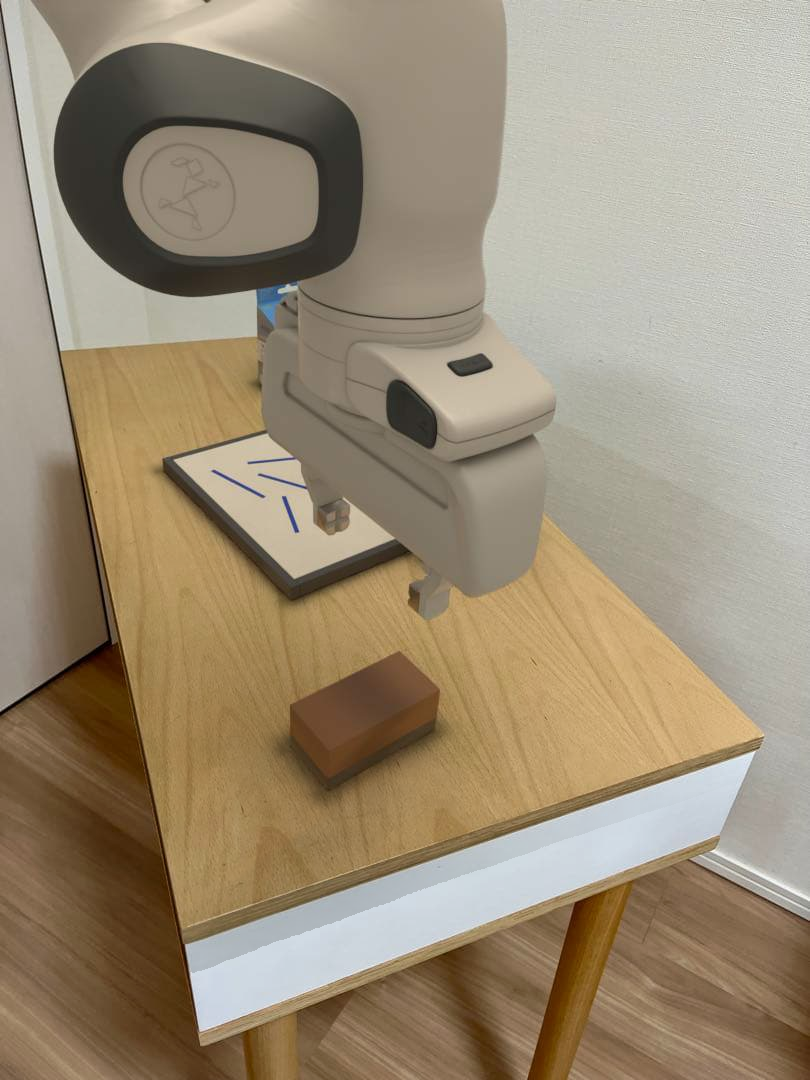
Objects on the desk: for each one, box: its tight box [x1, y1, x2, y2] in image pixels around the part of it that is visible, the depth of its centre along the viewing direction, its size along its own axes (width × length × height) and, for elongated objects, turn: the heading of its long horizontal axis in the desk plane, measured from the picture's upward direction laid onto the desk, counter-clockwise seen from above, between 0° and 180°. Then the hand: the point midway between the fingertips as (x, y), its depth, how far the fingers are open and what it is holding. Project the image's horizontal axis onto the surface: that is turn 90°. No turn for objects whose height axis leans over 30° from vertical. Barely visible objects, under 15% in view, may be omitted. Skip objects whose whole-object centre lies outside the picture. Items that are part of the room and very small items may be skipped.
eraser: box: [289, 650, 441, 792], centre depth 55 cm, size 9×4×4 cm, turn 128°
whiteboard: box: [161, 429, 411, 601], centre depth 77 cm, size 13×24×1 cm, turn 38°
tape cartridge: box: [255, 282, 298, 386], centre depth 97 cm, size 9×4×12 cm, turn 132°
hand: (376, 566), depth 48 cm, fingers open, 8 cm apart
